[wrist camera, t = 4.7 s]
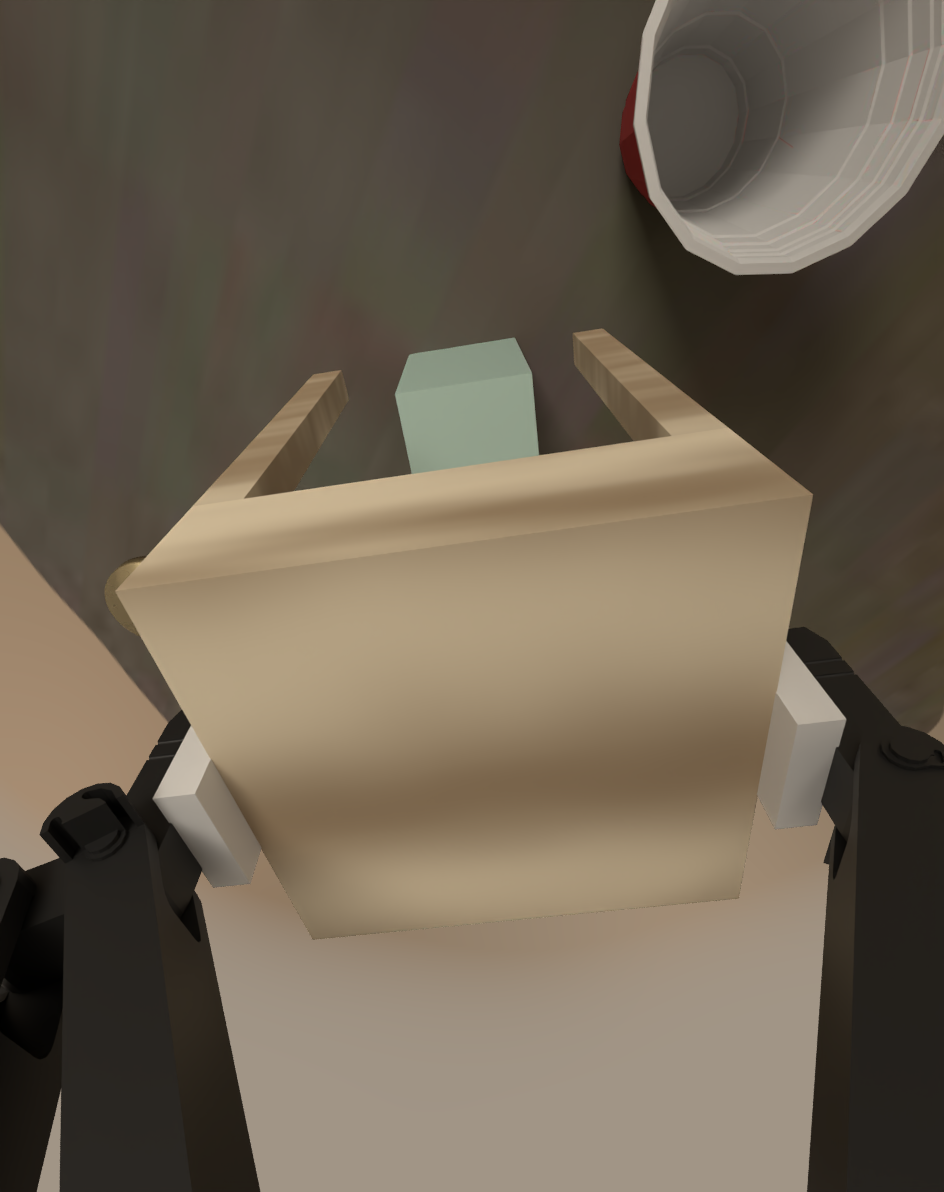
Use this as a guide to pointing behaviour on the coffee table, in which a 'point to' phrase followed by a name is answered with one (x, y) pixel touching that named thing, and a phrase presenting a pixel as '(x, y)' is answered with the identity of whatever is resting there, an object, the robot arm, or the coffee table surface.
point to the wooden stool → (487, 662)
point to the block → (467, 406)
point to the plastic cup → (782, 122)
